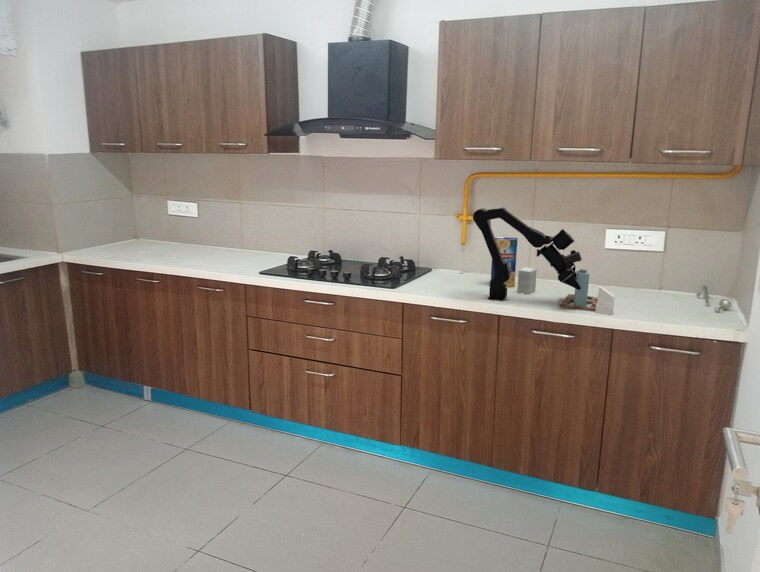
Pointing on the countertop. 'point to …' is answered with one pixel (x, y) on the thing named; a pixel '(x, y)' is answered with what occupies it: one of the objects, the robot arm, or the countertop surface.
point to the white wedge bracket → (604, 302)
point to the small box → (526, 280)
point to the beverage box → (507, 256)
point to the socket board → (570, 298)
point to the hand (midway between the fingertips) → (580, 286)
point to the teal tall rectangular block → (581, 294)
